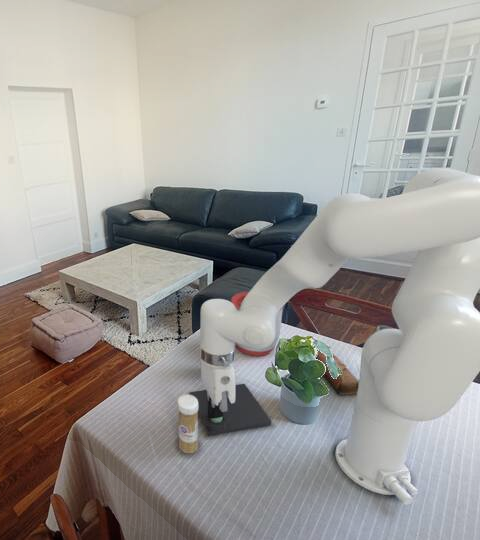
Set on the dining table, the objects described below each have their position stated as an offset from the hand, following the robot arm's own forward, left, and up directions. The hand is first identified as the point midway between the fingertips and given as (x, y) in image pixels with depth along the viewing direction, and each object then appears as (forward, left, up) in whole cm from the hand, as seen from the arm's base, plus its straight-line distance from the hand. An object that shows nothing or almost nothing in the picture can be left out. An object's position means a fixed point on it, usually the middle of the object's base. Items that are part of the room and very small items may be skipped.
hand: (215, 415), depth 82 cm
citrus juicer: (+28, -25, -4) cm, 38 cm away
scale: (+4, -5, -3) cm, 8 cm away
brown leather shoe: (+12, -40, -4) cm, 42 cm away
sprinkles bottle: (-4, +8, -4) cm, 10 cm away
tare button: (0, 0, -2) cm, 2 cm away
